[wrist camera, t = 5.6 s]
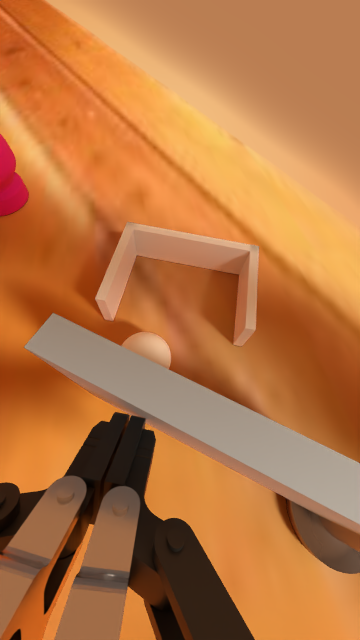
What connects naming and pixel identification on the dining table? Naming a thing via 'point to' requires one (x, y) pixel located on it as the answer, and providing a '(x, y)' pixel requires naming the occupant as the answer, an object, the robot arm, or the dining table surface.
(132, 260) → the pocket
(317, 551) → the lever base
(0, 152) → the pepper mill
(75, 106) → the dining table surface
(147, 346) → the ball
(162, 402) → the paddle
